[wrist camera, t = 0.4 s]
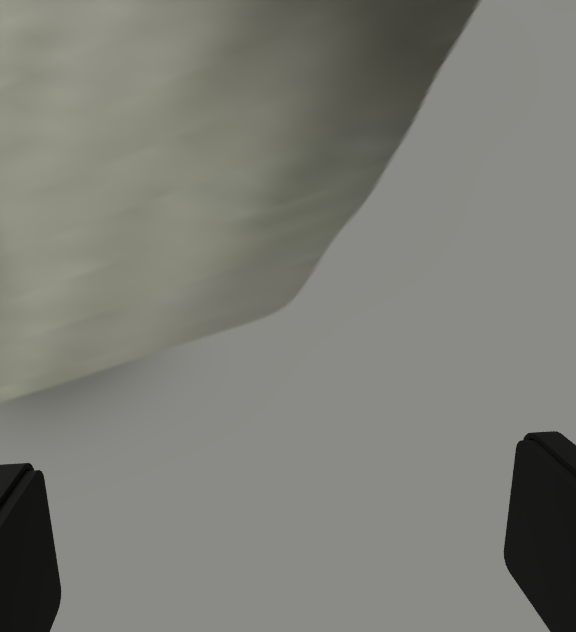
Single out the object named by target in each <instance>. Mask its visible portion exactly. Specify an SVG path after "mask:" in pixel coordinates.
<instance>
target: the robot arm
mask: <svg viewBox="0 0 576 632" xmlns="http://www.w3.org/2000/svg"><path fill="white" fill-rule="evenodd" d="M504 559H505V563H506V566H507V568H508V570H509V572H510V574H511V575H512V576H513V578H514V579H515V581H516V582H517V584H518V585H519V587H520V588H521V589H522V591H523V592H524V594H525V595H526V597H527V598H528V600H529V601H530V602H531V604H532V605H533V607H534V608H535V610H536V611H537V613H538V614H539V616H540V617H541V618H542V620H543V621H544V623H545V624H546V626H547V627H548V629H549V630H550V632H576V445H575V444H573V443H572V442H571V441H570V440H568V439H567V438H566V437H564V436H563V435H562V434H561V433H559V432H554V431H553V432H537V433H528V434H527V435H526V436H525V437H524V440H523V441H519V442H518V444H517V447H516V453H515V462H514V470H513V480H512V488H511V495H510V504H509V512H508V521H507V529H506V537H505V545H504ZM60 599H61V585H60V579H59V572H58V565H57V559H56V552H55V546H54V539H53V533H52V526H51V520H50V513H49V507H48V500H47V494H46V487H45V480H44V476H43V473H42V471H40V470H36V471H34V468H33V467H32V465H31V464H30V463H23V464H6V465H0V632H50V629H51V627H52V624H53V622H54V620H55V617H56V615H57V612H58V609H59V605H60Z"/></svg>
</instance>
